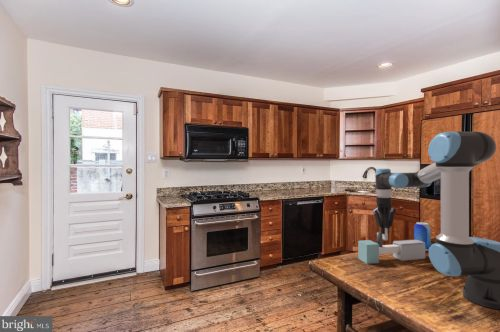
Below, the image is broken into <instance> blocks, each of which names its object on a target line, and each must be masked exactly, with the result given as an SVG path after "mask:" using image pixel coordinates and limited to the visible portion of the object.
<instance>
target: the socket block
mask: <svg viewBox="0 0 500 332" xmlns="http://www.w3.org/2000/svg"><path fill="white" fill-rule="evenodd" d="M357 244H358V245H357V246H358V247H357V249H358V250H357V251H358V253H357V259H358V260H360V261H362V262H363V263H364V264H366V265H369V264H379V263H380V254H379V244H377V242H375V241H373V240H370V239H366V240H364V239H362V240H358V241H357Z"/></svg>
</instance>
